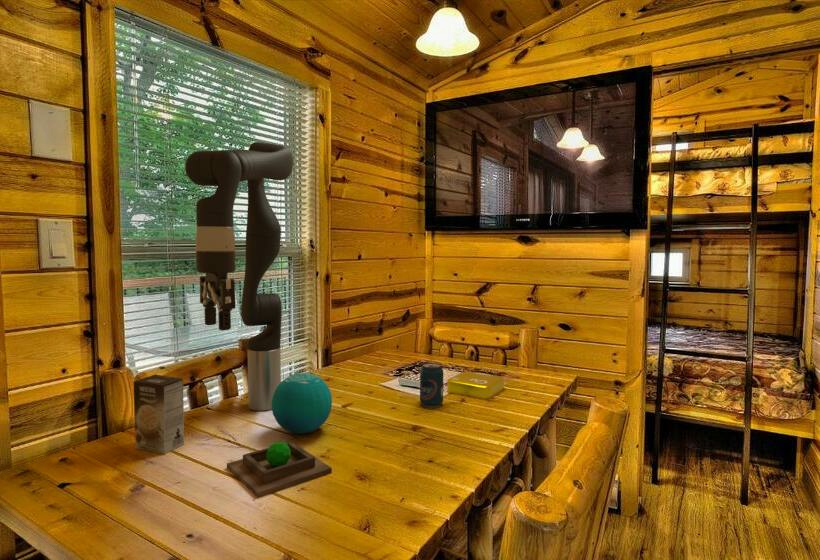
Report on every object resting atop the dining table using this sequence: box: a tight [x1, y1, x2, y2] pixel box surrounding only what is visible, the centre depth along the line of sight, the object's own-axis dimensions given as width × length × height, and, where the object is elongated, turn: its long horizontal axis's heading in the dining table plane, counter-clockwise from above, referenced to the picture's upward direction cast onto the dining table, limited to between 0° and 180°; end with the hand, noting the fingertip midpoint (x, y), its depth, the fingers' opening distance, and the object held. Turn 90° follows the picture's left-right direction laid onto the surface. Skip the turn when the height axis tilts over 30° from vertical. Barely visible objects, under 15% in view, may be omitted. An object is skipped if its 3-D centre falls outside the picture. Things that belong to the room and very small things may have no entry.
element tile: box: [446, 370, 505, 400], centre depth 160 cm, size 15×15×5 cm
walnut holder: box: [226, 441, 333, 498], centre depth 102 cm, size 16×16×3 cm
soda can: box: [419, 362, 444, 408], centre depth 145 cm, size 7×7×12 cm
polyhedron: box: [266, 441, 291, 467], centre depth 102 cm, size 5×5×5 cm
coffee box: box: [133, 374, 185, 455], centre depth 114 cm, size 9×6×16 cm
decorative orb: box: [271, 372, 333, 435], centre depth 123 cm, size 15×15×15 cm
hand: (217, 327), depth 101 cm, fingers open, 8 cm apart
